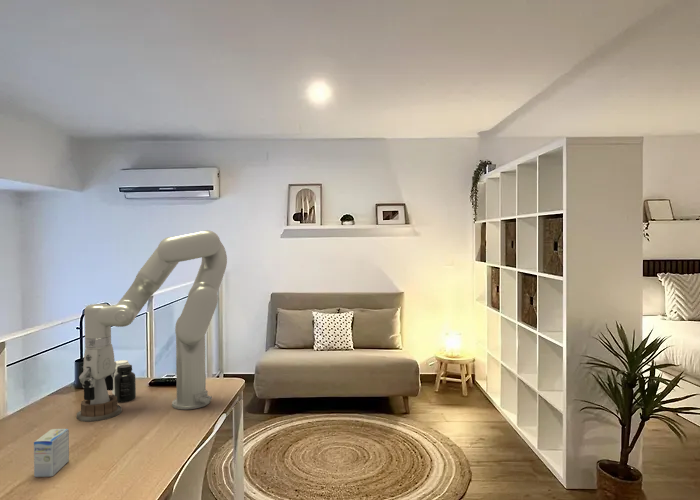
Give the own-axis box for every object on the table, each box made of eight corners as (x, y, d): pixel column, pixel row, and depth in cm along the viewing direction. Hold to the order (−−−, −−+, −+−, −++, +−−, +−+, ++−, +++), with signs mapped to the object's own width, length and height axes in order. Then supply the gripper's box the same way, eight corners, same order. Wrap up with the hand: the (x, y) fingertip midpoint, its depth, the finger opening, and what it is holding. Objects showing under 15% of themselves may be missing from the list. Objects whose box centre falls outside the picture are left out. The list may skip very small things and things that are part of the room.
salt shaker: (114, 408, 158) (113, 369, 158) (99, 414, 153) (98, 373, 153) (100, 407, 160) (100, 368, 160) (85, 412, 155) (85, 372, 155)
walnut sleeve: (129, 411, 159) (129, 397, 159) (91, 424, 148) (90, 409, 148) (107, 404, 166) (106, 391, 166) (68, 416, 155) (67, 402, 154)
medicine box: (51, 462, 122) (50, 428, 122) (69, 461, 123) (69, 428, 123) (33, 477, 114) (32, 441, 114) (53, 476, 115) (52, 440, 115)
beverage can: (118, 391, 181) (118, 359, 180) (134, 391, 180) (133, 359, 180) (108, 396, 174) (107, 363, 174) (124, 397, 174) (123, 364, 173)
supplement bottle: (139, 396, 174) (139, 363, 174) (129, 403, 167) (128, 368, 167) (121, 396, 175) (121, 363, 174) (110, 402, 168) (109, 368, 168)
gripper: (91, 348, 147) (92, 404, 147) (124, 337, 164) (125, 387, 165) (68, 348, 148) (70, 403, 148) (104, 336, 165) (105, 386, 166)
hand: (99, 394), depth 157 cm, fingers open, 9 cm apart
